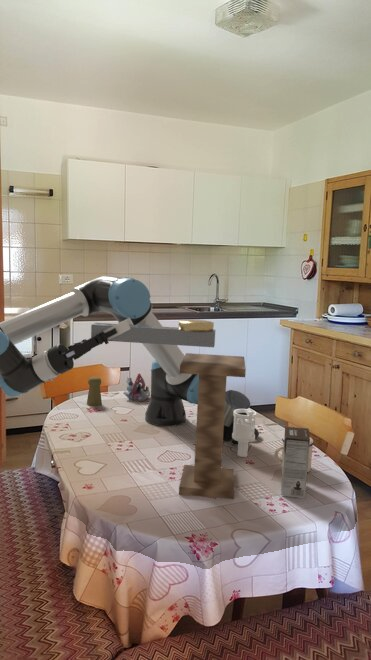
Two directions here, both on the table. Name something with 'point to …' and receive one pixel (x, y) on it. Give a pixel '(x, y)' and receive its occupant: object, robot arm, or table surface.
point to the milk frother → (232, 403)
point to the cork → (94, 392)
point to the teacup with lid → (282, 453)
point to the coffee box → (295, 462)
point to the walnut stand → (210, 425)
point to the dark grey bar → (165, 333)
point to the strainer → (243, 429)
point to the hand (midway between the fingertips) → (129, 323)
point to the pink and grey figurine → (137, 389)
